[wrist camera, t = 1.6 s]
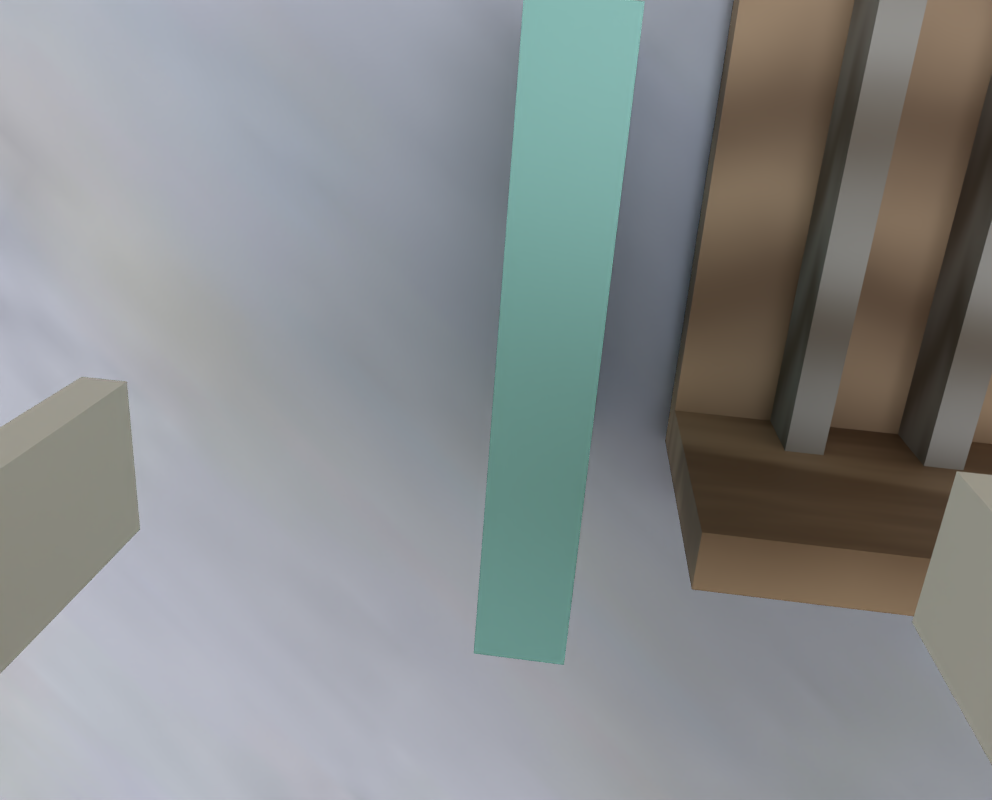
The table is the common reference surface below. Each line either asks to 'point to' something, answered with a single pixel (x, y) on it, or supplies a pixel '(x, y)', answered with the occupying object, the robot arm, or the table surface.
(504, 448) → the door panel
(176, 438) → the table surface
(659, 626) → the table surface
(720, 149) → the wooden rack
